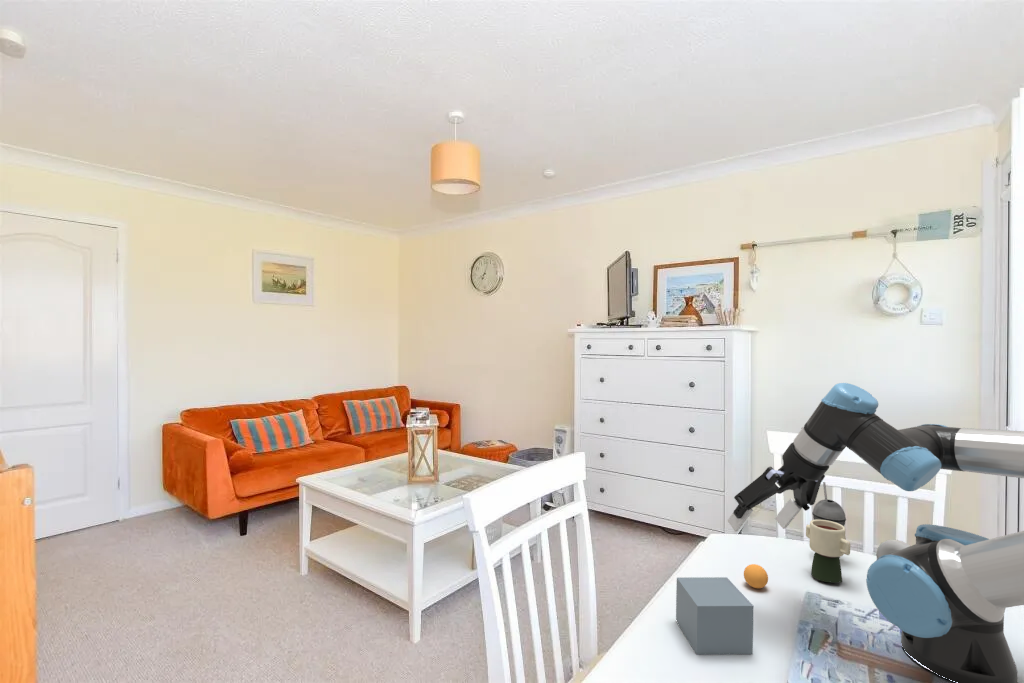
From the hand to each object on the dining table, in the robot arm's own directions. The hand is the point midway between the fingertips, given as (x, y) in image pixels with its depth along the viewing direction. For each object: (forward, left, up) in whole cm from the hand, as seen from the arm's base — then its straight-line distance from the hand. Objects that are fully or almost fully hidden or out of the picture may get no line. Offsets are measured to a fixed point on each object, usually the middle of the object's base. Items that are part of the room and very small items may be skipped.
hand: (756, 524), depth 105 cm
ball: (+4, -5, -14) cm, 15 cm away
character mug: (0, -23, -17) cm, 29 cm away
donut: (-8, -37, -17) cm, 42 cm away
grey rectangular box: (-6, +19, -16) cm, 26 cm away
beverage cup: (+6, -33, -17) cm, 38 cm away
